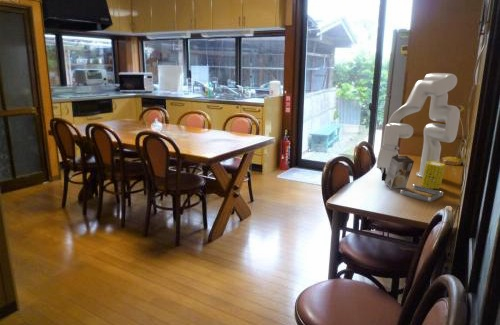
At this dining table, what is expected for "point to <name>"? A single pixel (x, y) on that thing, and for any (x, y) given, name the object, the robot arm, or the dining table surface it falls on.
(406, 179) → the coffee box
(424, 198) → the grey rod frame
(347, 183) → the dining table surface
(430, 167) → the food
